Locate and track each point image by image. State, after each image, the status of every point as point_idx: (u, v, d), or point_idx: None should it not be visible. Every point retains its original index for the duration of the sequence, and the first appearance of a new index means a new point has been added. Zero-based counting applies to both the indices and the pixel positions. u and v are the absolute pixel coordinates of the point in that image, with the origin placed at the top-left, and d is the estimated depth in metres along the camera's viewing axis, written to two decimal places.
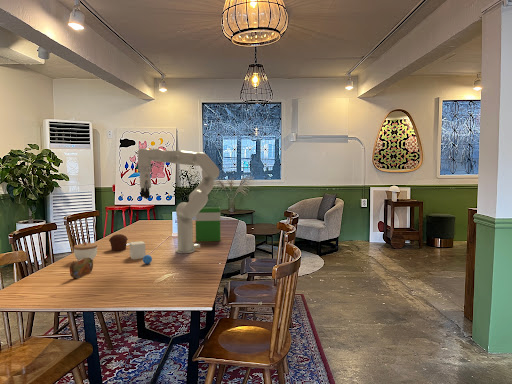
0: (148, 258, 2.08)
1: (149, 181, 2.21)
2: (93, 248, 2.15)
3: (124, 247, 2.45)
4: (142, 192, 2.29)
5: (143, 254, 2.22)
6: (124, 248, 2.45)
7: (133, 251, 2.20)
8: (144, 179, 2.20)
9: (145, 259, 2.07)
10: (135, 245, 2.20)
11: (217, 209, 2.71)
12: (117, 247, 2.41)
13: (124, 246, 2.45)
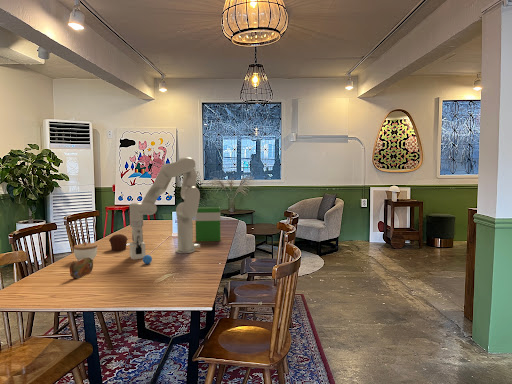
0: (148, 258, 2.08)
1: (141, 236, 2.20)
2: (93, 248, 2.15)
3: (124, 247, 2.45)
4: None
5: (143, 254, 2.22)
6: (124, 248, 2.45)
7: (133, 251, 2.20)
8: (136, 235, 2.19)
9: (145, 259, 2.07)
10: (135, 245, 2.20)
11: (217, 209, 2.71)
12: (117, 247, 2.41)
13: (124, 246, 2.45)
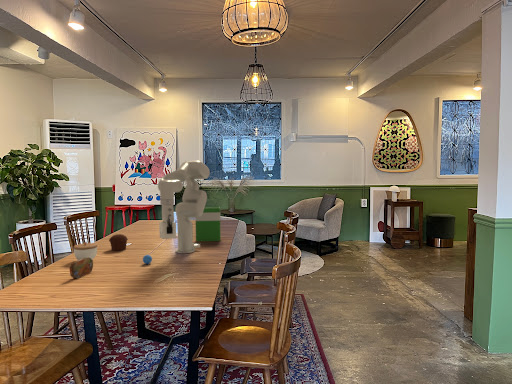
0: (148, 258, 2.08)
1: (172, 215, 2.10)
2: (93, 248, 2.15)
3: (124, 247, 2.45)
4: None
5: (174, 234, 2.12)
6: (124, 248, 2.45)
7: (164, 230, 2.09)
8: (167, 213, 2.09)
9: (145, 259, 2.07)
10: (166, 224, 2.10)
11: (217, 209, 2.71)
12: (117, 247, 2.41)
13: (124, 246, 2.45)
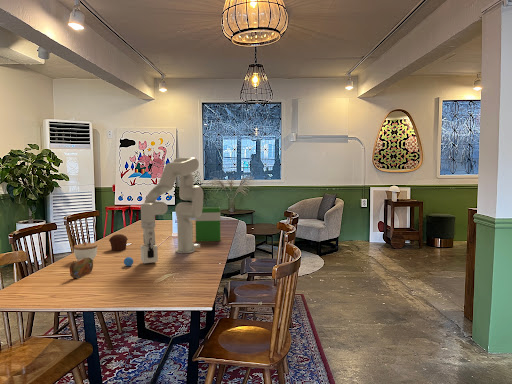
0: (130, 263, 2.03)
1: (153, 239, 2.06)
2: (93, 248, 2.15)
3: (124, 247, 2.45)
4: None
5: (155, 257, 2.08)
6: (124, 248, 2.45)
7: (145, 254, 2.05)
8: (148, 237, 2.04)
9: (131, 260, 2.04)
10: (147, 248, 2.05)
11: (217, 209, 2.71)
12: (117, 247, 2.41)
13: (124, 246, 2.45)
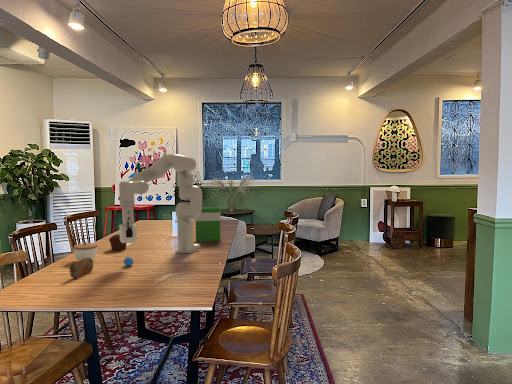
0: (130, 263, 2.03)
1: (132, 218, 2.00)
2: (93, 248, 2.15)
3: (124, 247, 2.45)
4: None
5: (134, 237, 2.02)
6: (124, 248, 2.45)
7: (123, 234, 1.99)
8: (126, 216, 1.98)
9: (131, 260, 2.04)
10: (125, 227, 1.99)
11: (217, 209, 2.71)
12: (117, 247, 2.41)
13: (124, 246, 2.45)
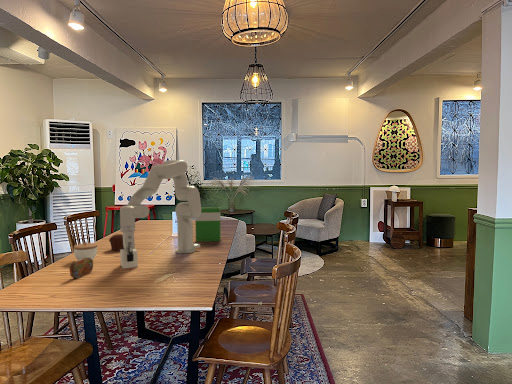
0: None
1: (133, 242, 2.01)
2: (93, 248, 2.15)
3: None
4: None
5: (135, 263, 2.03)
6: None
7: (124, 259, 2.00)
8: (127, 241, 1.99)
9: None
10: (126, 253, 2.00)
11: (217, 209, 2.71)
12: (117, 247, 2.41)
13: None
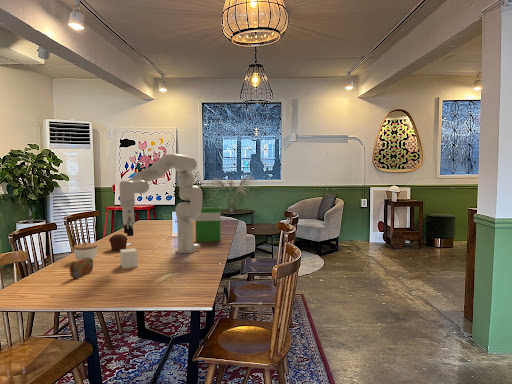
0: None
1: (132, 217, 2.00)
2: (93, 248, 2.15)
3: (124, 247, 2.45)
4: (125, 228, 2.08)
5: (135, 263, 2.03)
6: (124, 248, 2.45)
7: (124, 259, 2.00)
8: (127, 215, 1.99)
9: None
10: (126, 253, 2.00)
11: (217, 209, 2.71)
12: (117, 247, 2.41)
13: (124, 246, 2.45)
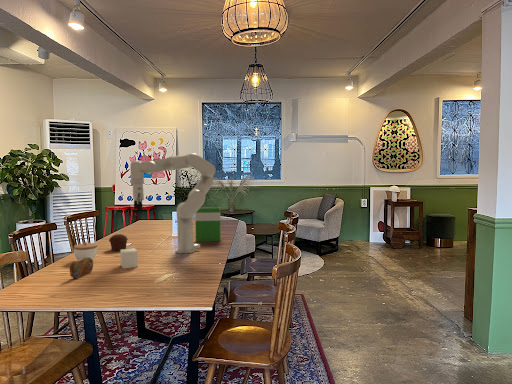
0: None
1: (142, 193, 2.24)
2: (93, 248, 2.15)
3: (124, 247, 2.45)
4: (135, 204, 2.31)
5: (135, 263, 2.03)
6: (124, 248, 2.45)
7: (124, 259, 2.00)
8: (137, 192, 2.22)
9: None
10: (126, 253, 2.00)
11: (217, 209, 2.71)
12: (117, 247, 2.41)
13: (124, 246, 2.45)
